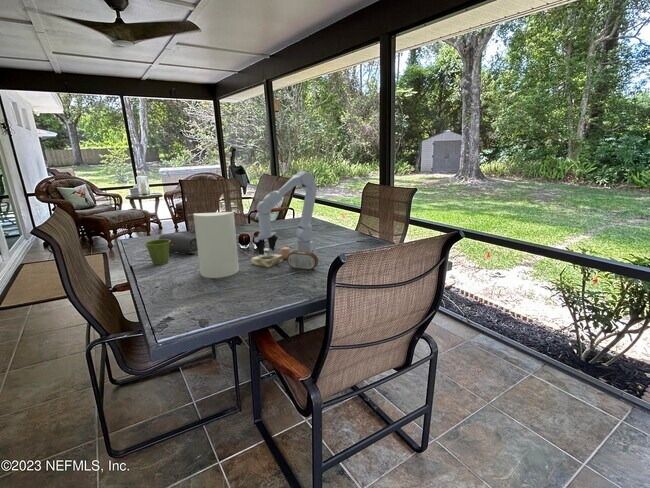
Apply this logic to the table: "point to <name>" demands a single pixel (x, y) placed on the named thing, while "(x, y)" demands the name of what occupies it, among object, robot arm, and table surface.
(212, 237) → the cylinder
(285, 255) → the round peg
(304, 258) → the tin
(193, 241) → the bluetooth speaker
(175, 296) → the table surface
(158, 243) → the plant pot
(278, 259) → the bore block
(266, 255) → the square peg
